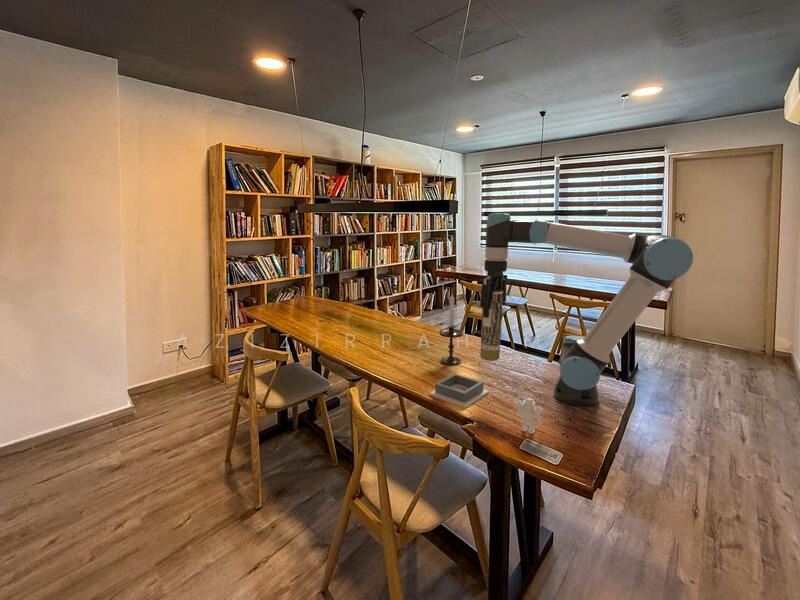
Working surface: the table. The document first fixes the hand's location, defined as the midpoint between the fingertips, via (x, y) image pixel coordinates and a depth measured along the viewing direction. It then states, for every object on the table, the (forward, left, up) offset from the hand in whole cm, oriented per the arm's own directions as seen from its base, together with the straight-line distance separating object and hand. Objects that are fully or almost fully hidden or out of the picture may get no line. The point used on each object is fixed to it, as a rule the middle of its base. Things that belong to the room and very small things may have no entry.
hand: (492, 324), depth 140 cm
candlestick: (+32, -22, -29) cm, 48 cm away
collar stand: (+10, +4, -29) cm, 31 cm away
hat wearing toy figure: (-21, +12, -29) cm, 37 cm away
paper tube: (0, 0, -13) cm, 13 cm away
